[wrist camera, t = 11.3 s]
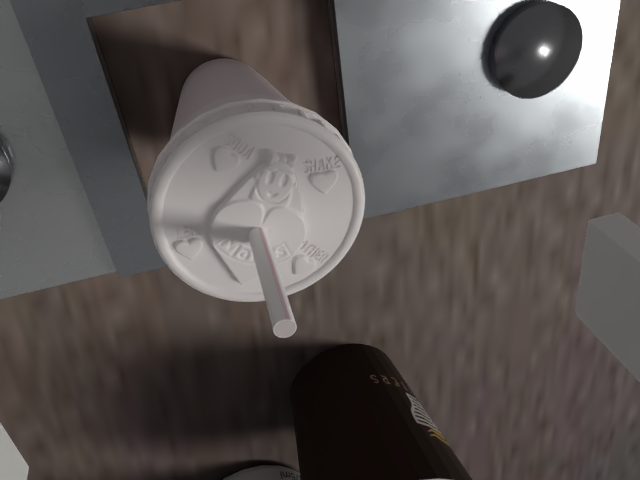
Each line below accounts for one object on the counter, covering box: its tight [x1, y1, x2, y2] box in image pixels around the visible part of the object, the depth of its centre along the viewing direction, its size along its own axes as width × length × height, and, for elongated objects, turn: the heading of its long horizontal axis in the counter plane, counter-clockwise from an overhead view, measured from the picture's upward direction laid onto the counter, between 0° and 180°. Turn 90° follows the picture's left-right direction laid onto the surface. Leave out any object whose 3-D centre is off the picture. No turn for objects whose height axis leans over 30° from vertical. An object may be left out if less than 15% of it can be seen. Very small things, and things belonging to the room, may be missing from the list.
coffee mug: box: [291, 344, 472, 480], centre depth 33 cm, size 12×9×10 cm
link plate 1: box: [0, 0, 346, 299], centre depth 24 cm, size 22×13×1 cm, turn 98°
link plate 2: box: [10, 0, 620, 278], centre depth 25 cm, size 24×13×2 cm, turn 98°
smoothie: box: [147, 58, 365, 338], centre depth 20 cm, size 6×6×14 cm
